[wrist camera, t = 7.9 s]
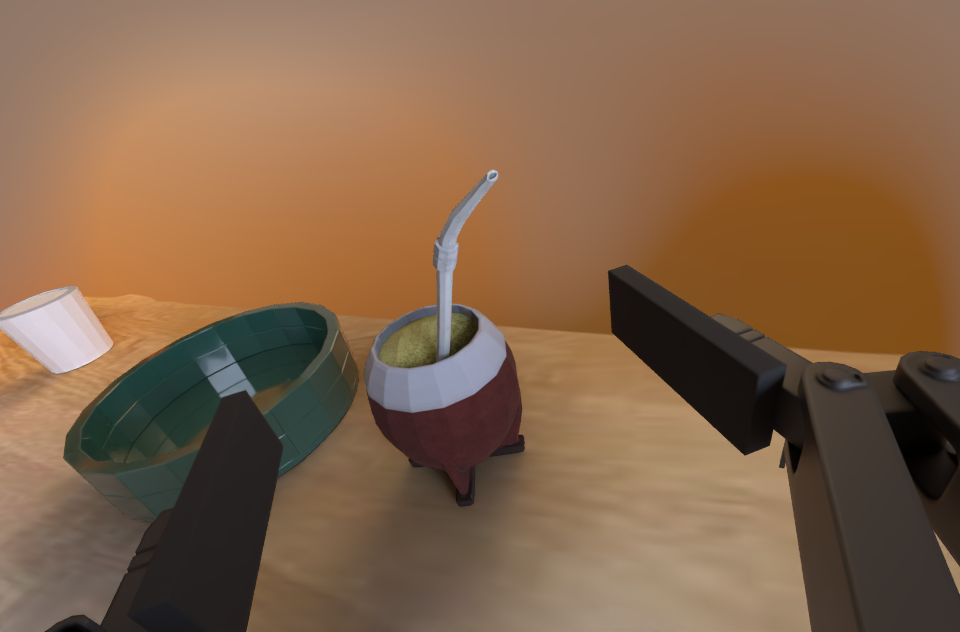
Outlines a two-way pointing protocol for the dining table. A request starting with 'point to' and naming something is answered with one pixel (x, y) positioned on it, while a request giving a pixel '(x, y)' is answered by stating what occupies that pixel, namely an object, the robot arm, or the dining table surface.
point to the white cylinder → (57, 329)
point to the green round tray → (213, 401)
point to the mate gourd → (446, 376)
